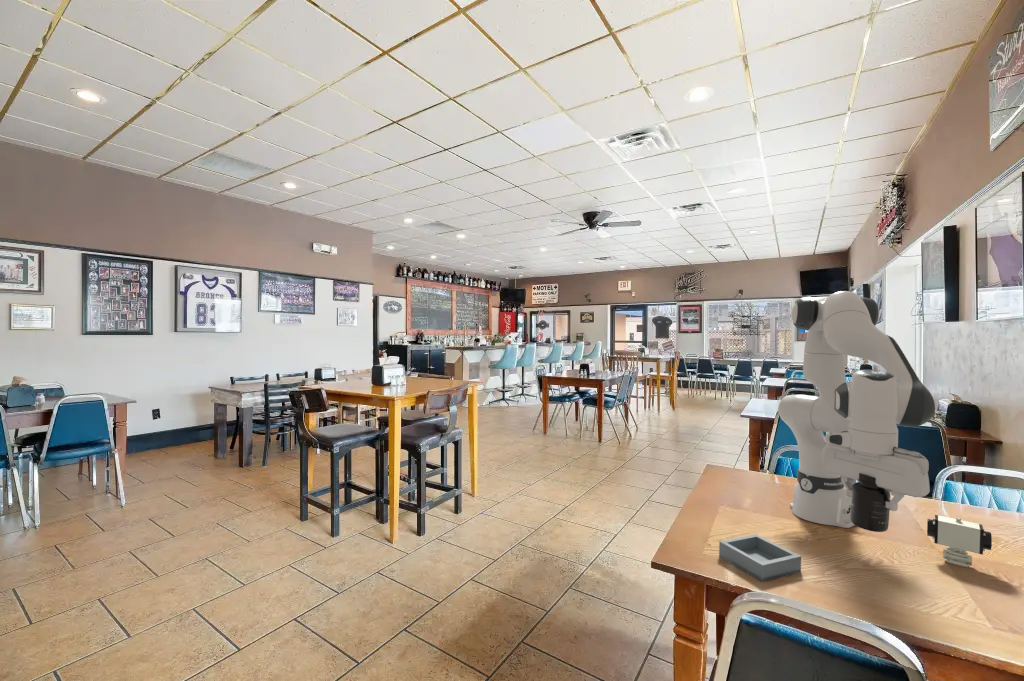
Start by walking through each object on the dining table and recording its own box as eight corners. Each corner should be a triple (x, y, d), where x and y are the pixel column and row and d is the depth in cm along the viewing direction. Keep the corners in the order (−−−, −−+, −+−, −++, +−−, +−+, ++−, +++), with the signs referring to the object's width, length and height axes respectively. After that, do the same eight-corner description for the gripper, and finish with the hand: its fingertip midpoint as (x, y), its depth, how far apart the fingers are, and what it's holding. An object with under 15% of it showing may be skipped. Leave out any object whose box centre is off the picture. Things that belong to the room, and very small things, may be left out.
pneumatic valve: (990, 575, 111) (992, 527, 111) (926, 558, 119) (927, 514, 119) (988, 567, 115) (990, 520, 115) (926, 551, 123) (927, 508, 123)
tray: (755, 548, 124) (755, 534, 123) (800, 572, 111) (801, 556, 111) (719, 556, 119) (719, 541, 119) (762, 582, 107) (762, 565, 107)
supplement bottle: (842, 519, 105) (845, 469, 105) (869, 518, 106) (872, 468, 105) (867, 533, 99) (871, 479, 98) (896, 532, 99) (900, 479, 98)
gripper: (937, 452, 93) (935, 519, 93) (835, 431, 112) (834, 486, 113) (919, 455, 91) (917, 523, 91) (818, 433, 110) (816, 489, 110)
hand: (870, 503), depth 102 cm, fingers closed on supplement bottle, 7 cm apart
